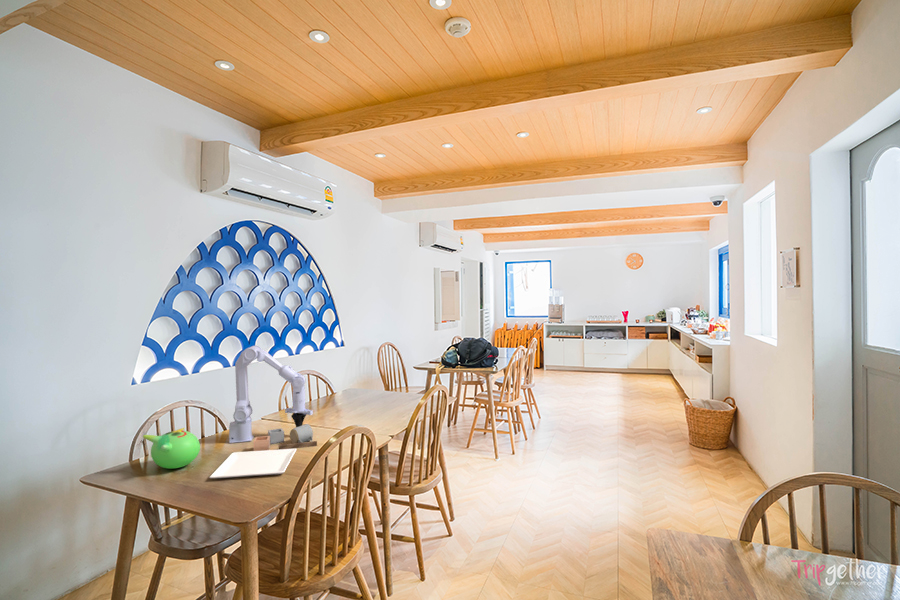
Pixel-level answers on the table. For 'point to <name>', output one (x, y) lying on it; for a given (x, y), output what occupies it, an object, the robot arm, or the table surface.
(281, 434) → the slate pot
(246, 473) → the plate
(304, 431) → the ceramic mug
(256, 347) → the robot arm
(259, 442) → the terracotta pot
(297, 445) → the walnut strip
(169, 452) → the green teapot
